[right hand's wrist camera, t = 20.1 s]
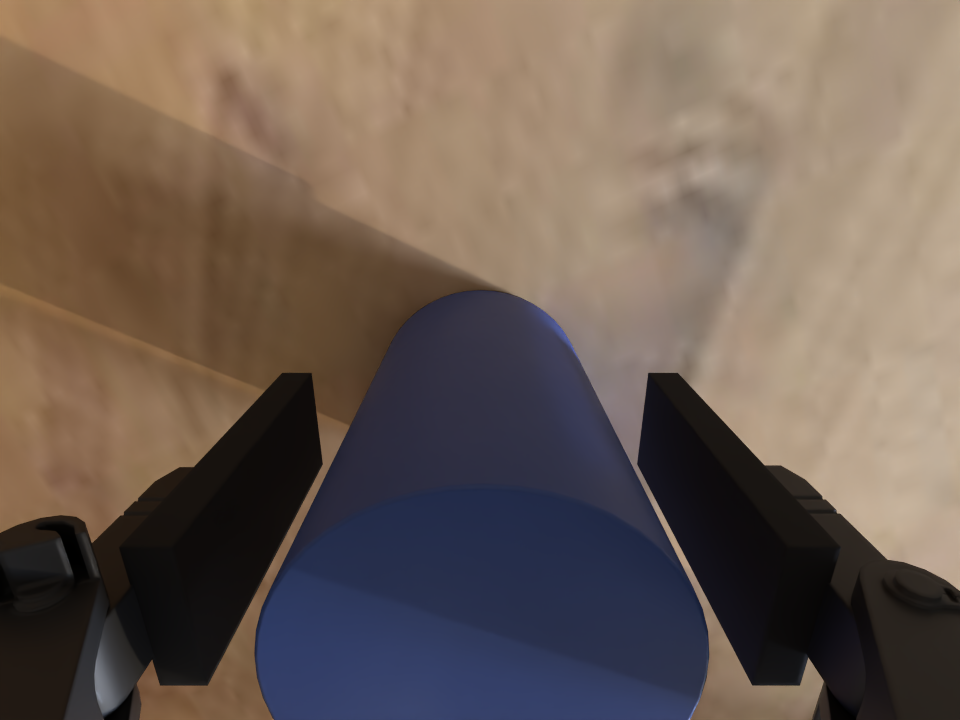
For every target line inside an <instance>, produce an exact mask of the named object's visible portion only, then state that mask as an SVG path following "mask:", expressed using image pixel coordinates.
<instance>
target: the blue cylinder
mask: <svg viewBox="0 0 960 720" xmlns="http://www.w3.org/2000/svg"><path fill="white" fill-rule="evenodd" d="M708 662H709V642H708V629H707V625H706V621H705V617H704V613H703V609H702V607H701V604H700V602H699V600H698V598H697V595H696V593H695V591H694V588H693V586H692V584H691V582H690V580H689V578H688V576H687V574H686V572H685V570H684V568H683V566H682V564H681V562H680V560H679V558H678V556H677V554H676V552H675V550H674V548H673V546H672V544H671V542H670V540H669V538H668V536H667V534H666V532H665V530H664V528H663V526H662V524H661V522H660V520H659V518H658V516H657V514H656V512H655V510H654V508H653V506H652V504H651V502H650V500H649V498H648V496H647V495H646V493H645V491H644V489H643V487H642V485H641V483H640V481H639V479H638V477H637V475H636V473H635V471H634V469H633V467H632V465H631V463H630V461H629V459H628V457H627V455H626V453H625V451H624V449H623V447H622V445H621V443H620V441H619V439H618V437H617V435H616V433H615V431H614V429H613V427H612V425H611V423H610V421H609V419H608V417H607V415H606V413H605V411H604V409H603V407H602V405H601V403H600V401H599V399H598V397H597V395H596V393H595V391H594V389H593V387H592V385H591V383H590V381H589V379H588V377H587V375H586V373H585V371H584V369H583V367H582V365H581V363H580V361H579V359H578V357H577V355H576V353H575V351H574V349H573V347H572V345H571V343H570V341H569V339H568V338H567V336H566V335H565V333H564V331H563V330H562V329H561V328H560V326H559V325H558V324H557V323H556V322H555V320H553V319H552V318H551V317H550V316H549V315H548V314H547V313H546V312H544V311H543V310H541V309H540V308H538V307H537V306H535V305H534V304H532V303H530V302H528V301H526V300H524V299H522V298H519V297H516V296H513V295H510V294H507V293H502V292H497V291H485V290H477V291H465V292H460V293H455V294H451V295H448V296H445V297H442V298H440V299H438V300H436V301H434V302H432V303H429V304H428V305H426V306H425V307H423V308H422V309H420V310H419V311H417V312H416V313H415V314H414V315H413V316H412V317H410V318H409V319H408V320H407V321H406V322H405V324H404V325H403V326H402V327H401V328H400V329H399V331H398V332H397V334H396V336H395V337H394V339H393V340H392V342H391V344H390V346H389V348H388V350H387V352H386V354H385V356H384V359H383V361H382V363H381V365H380V367H379V369H378V371H377V373H376V375H375V377H374V379H373V381H372V383H371V385H370V387H369V389H368V391H367V393H366V395H365V397H364V399H363V401H362V403H361V405H360V407H359V409H358V411H357V413H356V415H355V418H354V420H353V422H352V424H351V426H350V428H349V430H348V432H347V434H346V436H345V438H344V440H343V442H342V444H341V446H340V448H339V450H338V452H337V454H336V456H335V458H334V460H333V462H332V464H331V466H330V468H329V470H328V472H327V474H326V476H325V479H324V481H323V483H322V485H321V487H320V489H319V491H318V493H317V495H316V497H315V499H314V501H313V503H312V505H311V507H310V509H309V511H308V513H307V515H306V517H305V519H304V521H303V523H302V525H301V527H300V529H299V531H298V533H297V535H296V538H295V540H294V542H293V544H292V546H291V548H290V550H289V552H288V554H287V556H286V558H285V560H284V562H283V564H282V566H281V568H280V570H279V572H278V574H277V576H276V578H275V580H274V582H273V584H272V586H271V589H270V591H269V593H268V595H267V597H266V600H265V602H264V604H263V606H262V609H261V613H260V617H259V621H258V624H257V628H256V638H255V663H256V672H257V679H258V682H259V686H260V689H261V692H262V696H263V699H264V701H265V703H266V705H267V707H268V709H269V711H270V713H271V715H272V717H273V719H274V720H690V718H691V716H692V714H693V712H694V710H695V708H696V706H697V704H698V702H699V700H700V698H701V694H702V691H703V688H704V684H705V681H706V678H707V670H708Z"/></svg>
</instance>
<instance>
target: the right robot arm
mask: <svg viewBox="0 0 960 720" xmlns="http://www.w3.org/2000/svg"><path fill="white" fill-rule="evenodd" d="M322 465H323V463H322V454H321V446H320V438H319V430H318V422H317V413H316V405H315V397H314V389H313V381H312V373H282V374H281V375H280V376H279V377H278V378H277V379H276V380H275V381H274V382H273V383H272V384H271V386H270V387H269V388H268V389H267V390H266V391H265V392H264V393H263V394H262V395H261V396H260V397H259V398H258V399H257V400H256V402H255V403H254V404H253V405H252V406H251V407H250V408H249V409H248V410H247V411H246V412H245V413H244V414H243V415H242V416H241V418H240V419H239V420H238V421H237V422H236V423H235V424H234V425H233V426H232V427H231V428H230V429H229V430H228V431H227V432H226V434H225V435H224V436H223V437H222V438H221V439H220V440H219V441H218V442H217V443H216V444H215V445H214V446H213V447H212V448H211V450H210V451H209V452H208V453H207V454H206V455H205V456H204V457H203V458H202V459H201V460H200V461H199V462H198V463H197V464H196V466H195V467H179V468H178V469H176V470H174V471H172V472H171V473H169V474H167V475H165V476H164V477H162V478H160V479H159V480H157V481H155V482H154V483H153V484H152V485H151V486H150V487H149V488H148V489H147V490H146V491H145V492H144V493H143V494H142V495H141V496H140V497H139V498H138V501H135V502H134V503H133V504H132V505H131V506H130V507H129V508H128V509H127V510H126V511H125V512H124V515H123V516H120V517H119V518H118V519H116V520H115V521H114V522H113V523H112V524H111V525H110V526H109V527H108V528H107V529H106V530H105V531H104V532H103V533H102V534H101V535H100V536H99V537H98V538H97V539H96V540H95V541H94V542H93V543H91V540H90V537H89V534H88V531H87V527H86V524H85V522H83V521H82V520H80V519H79V518H77V517H72V516H62V515H60V516H52V517H45V518H39V519H36V520H32V521H29V522H26V523H23V524H19V525H17V526H14V527H12V528H10V529H8V530H6V531H3V532H1V533H0V720H139V719H140V711H141V699H140V693H139V690H138V686H137V681H138V680H139V678H140V677H141V675H142V674H143V672H144V671H145V669H146V668H147V666H148V665H149V663H150V662H151V660H153V663H154V667H155V670H156V673H157V677H158V680H159V683H160V685H208V684H209V682H210V680H211V678H212V676H213V674H214V672H215V670H216V668H217V666H218V664H219V663H220V661H221V659H222V657H223V655H224V653H225V651H226V649H227V647H228V645H229V643H230V641H231V640H232V638H233V636H234V634H235V632H236V630H237V628H238V626H239V624H240V622H241V620H242V618H243V616H244V615H245V613H246V611H247V609H248V607H249V605H250V603H251V601H252V599H253V597H254V595H255V593H256V592H257V590H258V588H259V586H260V584H261V582H262V580H263V578H264V576H265V574H266V572H267V570H268V568H269V567H270V565H271V563H272V561H273V559H274V557H275V555H276V553H277V551H278V549H279V547H280V545H281V543H282V542H283V540H284V538H285V536H286V534H287V532H288V530H289V528H290V526H291V524H292V522H293V520H294V519H295V517H296V515H297V513H298V511H299V509H300V507H301V505H302V503H303V501H304V499H305V497H306V495H307V494H308V492H309V490H310V488H311V486H312V484H313V482H314V480H315V478H316V476H317V474H318V472H319V470H320V469H321V467H322ZM637 465H638V467H639V469H640V471H641V472H642V474H643V476H644V478H645V480H646V482H647V484H648V486H649V488H650V490H651V492H652V494H653V495H654V497H655V499H656V501H657V503H658V505H659V507H660V509H661V511H662V513H663V515H664V517H665V519H666V520H667V522H668V524H669V526H670V528H671V530H672V532H673V534H674V536H675V538H676V540H677V542H678V544H679V545H680V547H681V549H682V551H683V553H684V555H685V557H686V559H687V561H688V563H689V565H690V567H691V568H692V570H693V572H694V574H695V576H696V578H697V580H698V582H699V584H700V586H701V588H702V590H703V592H704V593H705V595H706V597H707V599H708V601H709V603H710V605H711V607H712V609H713V611H714V613H715V615H716V616H717V618H718V620H719V622H720V624H721V626H722V628H723V630H724V632H725V634H726V636H727V638H728V640H729V641H730V643H731V645H732V647H733V649H734V651H735V653H736V655H737V657H738V659H739V661H740V663H741V665H742V666H743V668H744V670H745V672H746V674H747V676H748V678H749V680H750V682H751V684H752V685H800V683H801V680H802V676H803V673H804V670H805V666H806V663H807V660H808V657H809V659H810V660H811V662H812V663H813V665H814V667H815V668H816V670H817V671H818V673H819V674H820V676H821V677H822V679H823V680H824V683H823V686H822V690H821V693H820V696H819V699H818V702H817V705H816V708H815V711H814V714H813V718H812V720H960V591H959V590H958V589H956V588H955V587H954V586H953V585H951V584H950V583H949V582H947V581H946V580H944V579H942V578H940V577H938V576H936V575H934V574H932V573H931V572H929V571H927V570H925V569H922V568H919V567H916V566H913V565H910V564H907V563H904V562H898V561H892V560H887V559H886V558H885V557H884V556H883V555H882V554H881V553H880V552H879V551H878V550H877V549H876V548H875V547H874V546H873V545H872V544H871V543H870V542H869V541H868V540H867V539H866V538H864V537H863V536H862V535H861V534H860V533H859V532H858V531H857V530H856V529H855V528H854V527H853V526H852V525H851V524H850V523H849V522H848V521H847V520H846V519H845V518H844V517H843V516H842V515H841V514H837V512H836V509H835V508H834V507H833V506H832V505H831V504H830V503H829V502H828V501H827V500H823V499H822V496H821V495H820V494H819V493H818V492H817V491H816V490H815V489H814V488H813V487H812V486H811V485H810V484H809V483H808V482H807V481H806V480H805V479H803V478H801V477H800V476H798V475H796V474H795V473H793V472H791V471H789V470H788V469H786V468H784V467H782V466H764V464H763V463H762V462H761V461H760V460H759V459H758V458H757V457H756V456H755V455H754V454H753V453H752V452H751V451H750V450H749V448H748V447H747V446H746V445H745V444H744V443H743V442H742V441H741V440H740V439H739V438H738V437H737V436H736V435H735V434H734V432H733V431H732V430H731V429H730V428H729V427H728V426H727V425H726V424H725V423H724V422H723V421H722V420H721V419H720V418H719V416H718V415H717V414H716V413H715V412H714V411H713V410H712V409H711V408H710V407H709V406H708V405H707V404H706V403H705V402H704V400H703V399H702V398H701V397H700V396H699V395H698V394H697V393H696V392H695V391H694V390H693V389H692V388H691V387H690V386H689V385H688V383H687V382H686V381H685V380H684V379H683V378H682V377H681V376H680V375H679V374H678V373H648V381H647V389H646V397H645V405H644V413H643V422H642V430H641V438H640V446H639V454H638V463H637Z"/></svg>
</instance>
